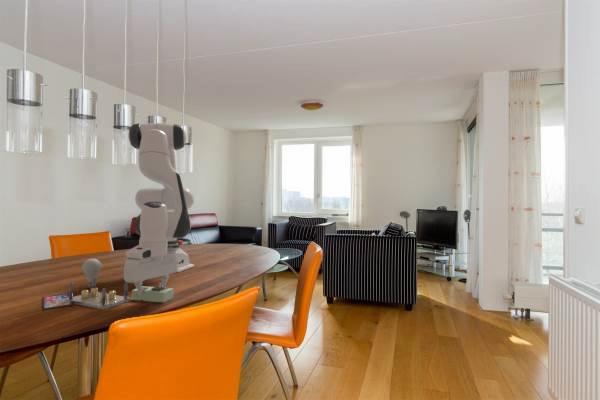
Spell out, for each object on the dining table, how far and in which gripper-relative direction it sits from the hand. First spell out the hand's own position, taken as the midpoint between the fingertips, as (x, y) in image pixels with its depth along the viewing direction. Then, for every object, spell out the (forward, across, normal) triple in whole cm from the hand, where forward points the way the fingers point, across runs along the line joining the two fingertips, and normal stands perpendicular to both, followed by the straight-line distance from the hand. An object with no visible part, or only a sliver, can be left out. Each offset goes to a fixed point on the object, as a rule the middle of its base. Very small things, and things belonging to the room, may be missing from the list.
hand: (152, 290), depth 114 cm
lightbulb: (+3, 0, -30) cm, 30 cm away
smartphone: (+3, +16, -24) cm, 29 cm away
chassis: (+3, +10, -13) cm, 16 cm away
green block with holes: (+3, 0, 0) cm, 3 cm away
